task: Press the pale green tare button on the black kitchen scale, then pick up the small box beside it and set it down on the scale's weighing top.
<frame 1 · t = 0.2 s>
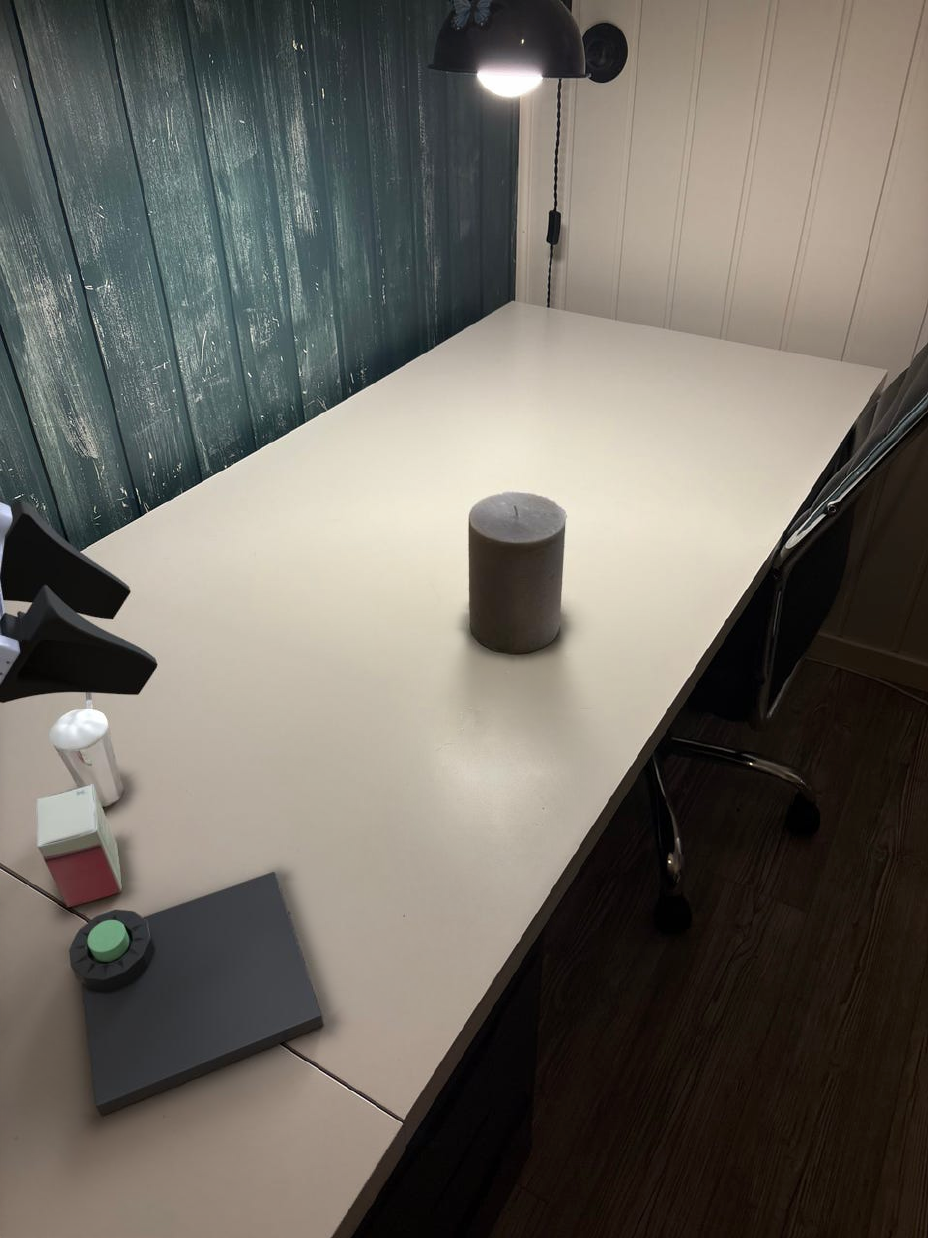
hand: (133, 637, 50), 30 cm above the table, tool tilted 45°, fingers open, 7 cm apart
milkshake: (106, 791, 81), on the table
pillar candle: (514, 625, 98), on the table
small box: (94, 878, 74), on the table
tare button: (108, 941, 66), point 3 cm above the table, slide at 0.1 cm
scale: (198, 986, 66), on the table
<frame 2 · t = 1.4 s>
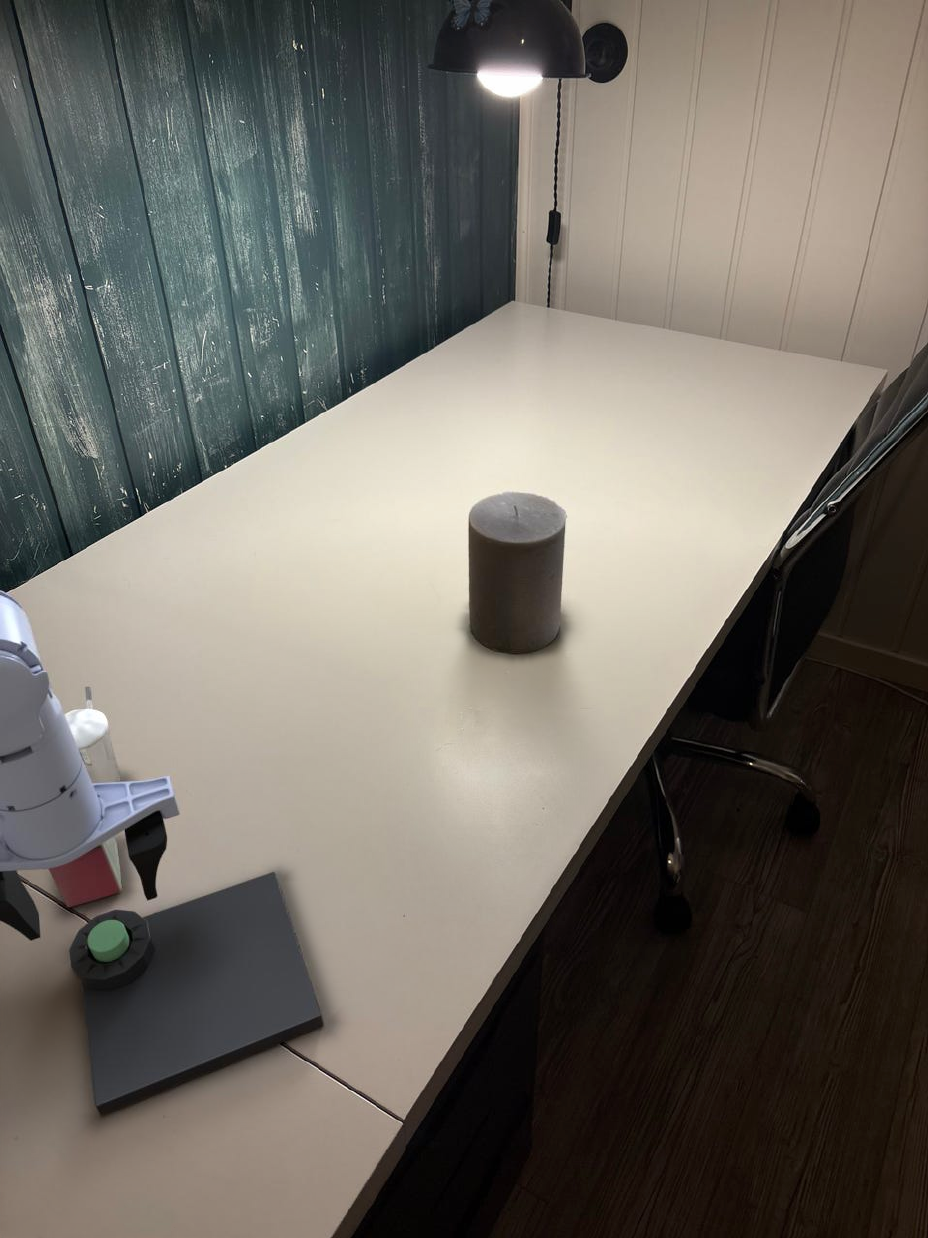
hand: (93, 907, 63), 7 cm above the table, tool pointing down, fingers open, 7 cm apart
nothing on the table moved.
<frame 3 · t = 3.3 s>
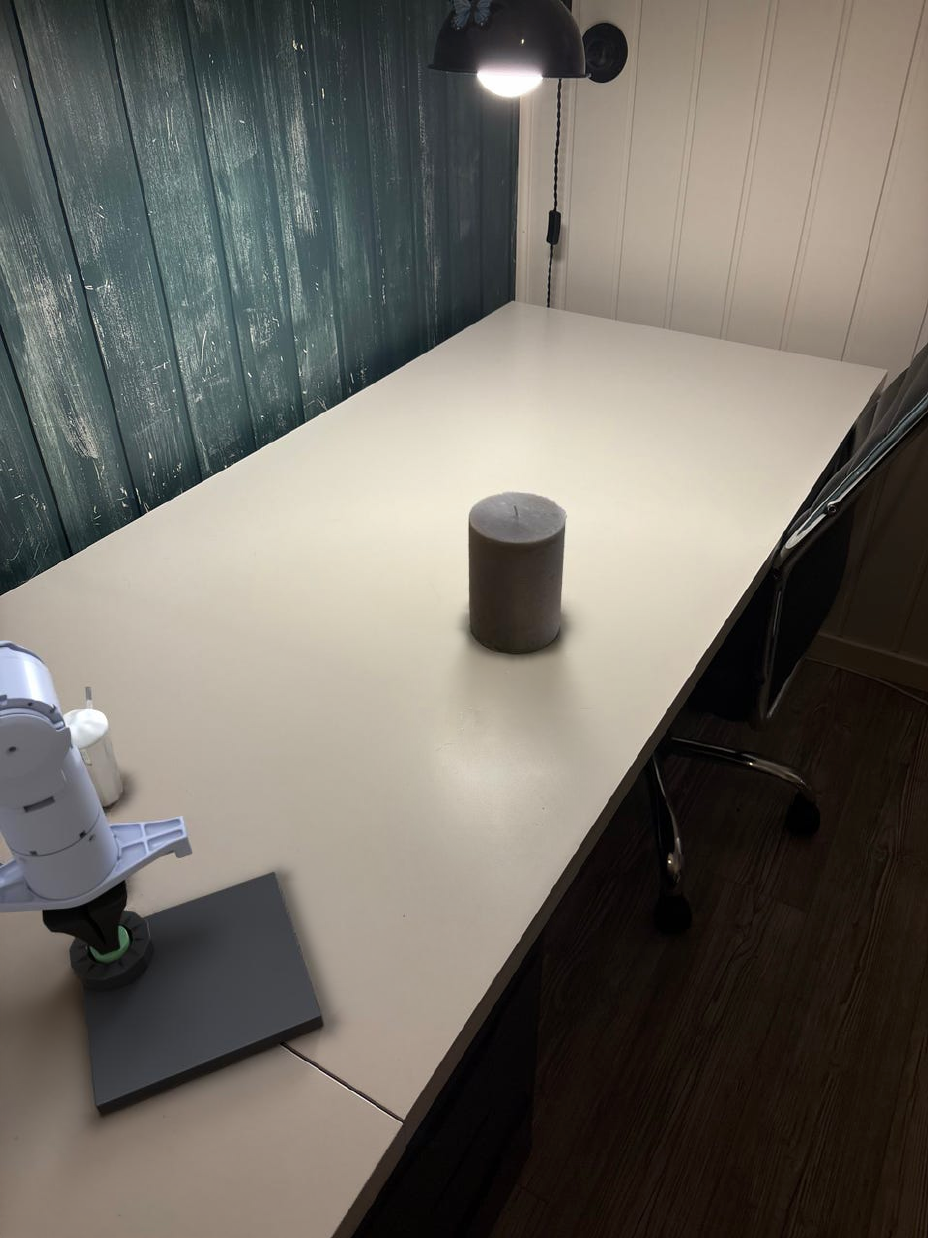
hand: (109, 941, 66), 3 cm above the table, tool pointing down, fingers closed, pressing on tare button
tare button: (111, 946, 66), point 3 cm above the table, slide at -0.5 cm, touching gripper
everything else where it was.
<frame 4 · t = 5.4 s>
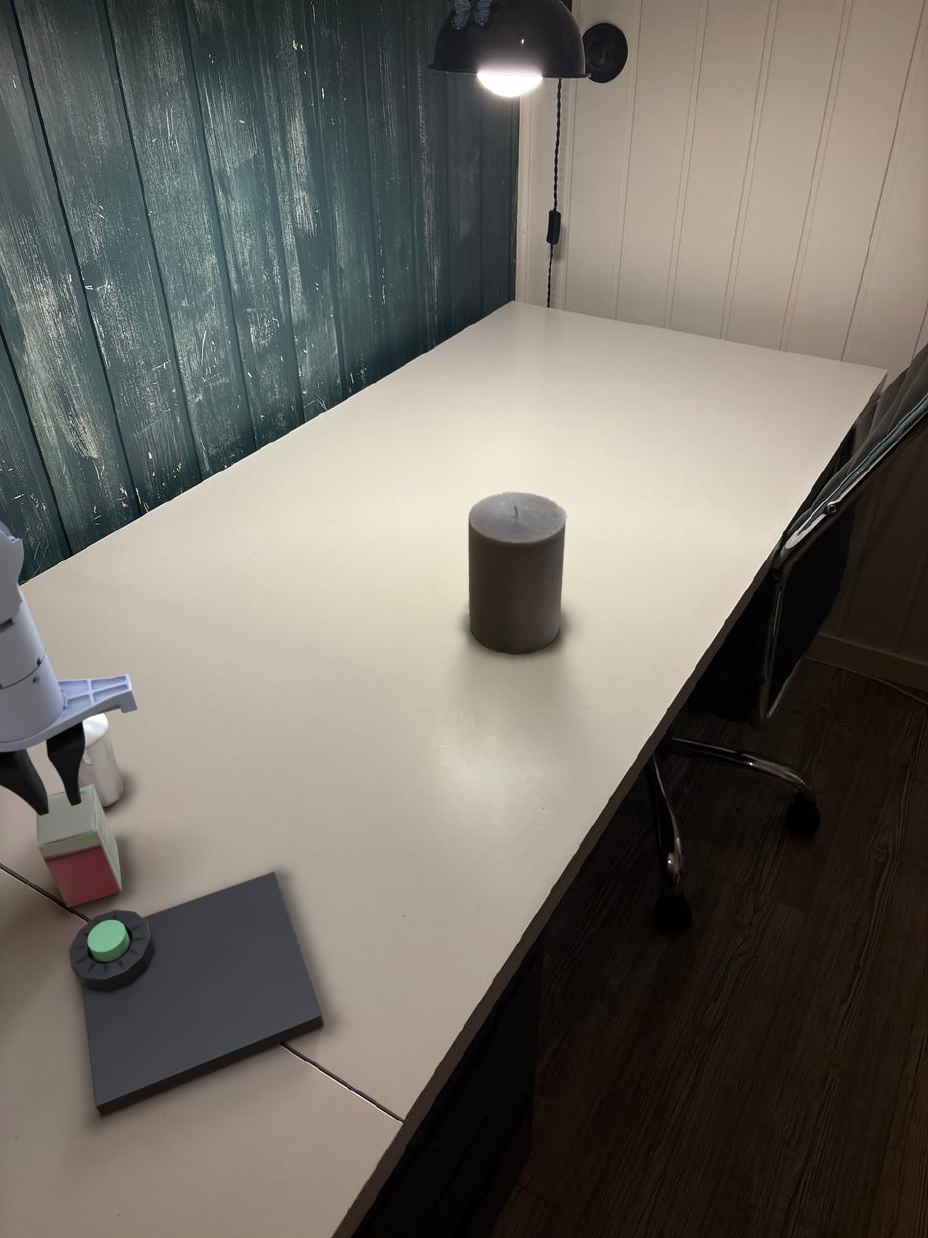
hand: (59, 800, 68), 9 cm above the table, tool pointing down, fingers closed
tare button: (108, 941, 66), point 3 cm above the table, slide at 0.1 cm
everything else where it was.
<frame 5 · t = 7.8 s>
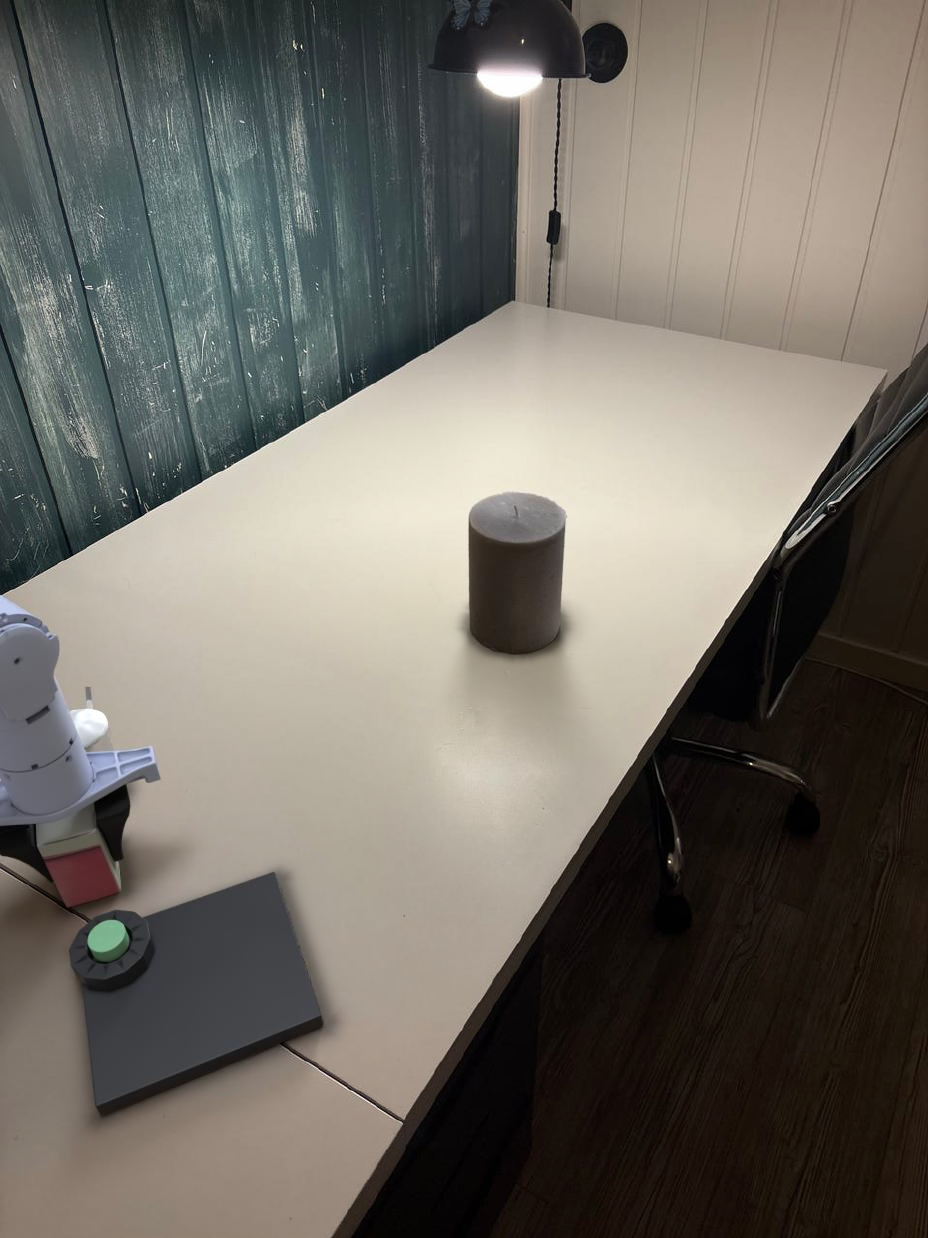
hand: (86, 861, 73), 2 cm above the table, tool pointing down, fingers closed on small box, 4 cm apart
small box: (93, 878, 74), on the table, touching gripper
everything else where it was.
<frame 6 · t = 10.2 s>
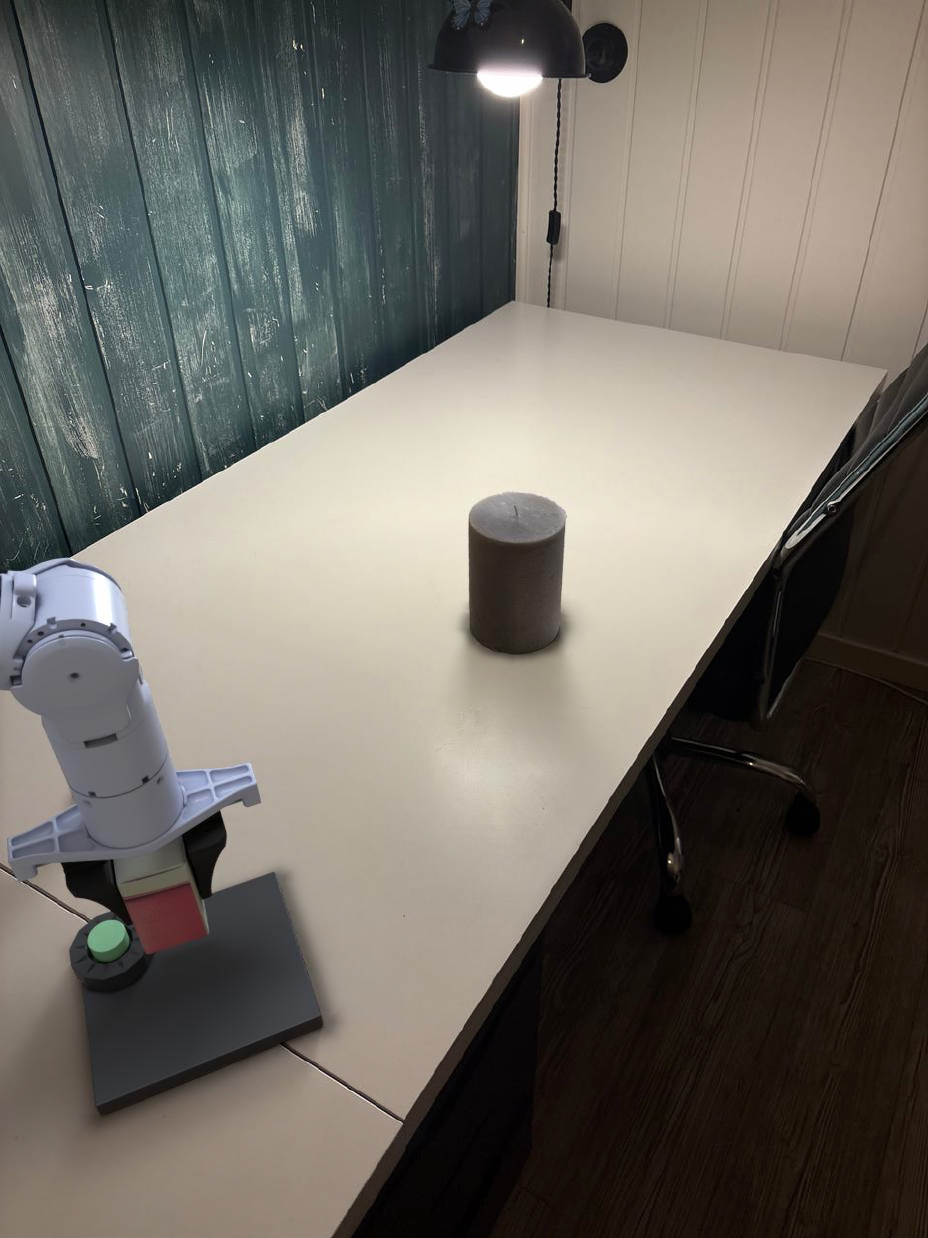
hand: (168, 899, 61), 9 cm above the table, tool pointing down, fingers closed on small box, 4 cm apart
small box: (174, 918, 63), point 7 cm above the table, touching gripper
everything else where it was.
when the fingers open (3 cm above the table, at t = 12.7 s): small box stays where it is, resting on scale.
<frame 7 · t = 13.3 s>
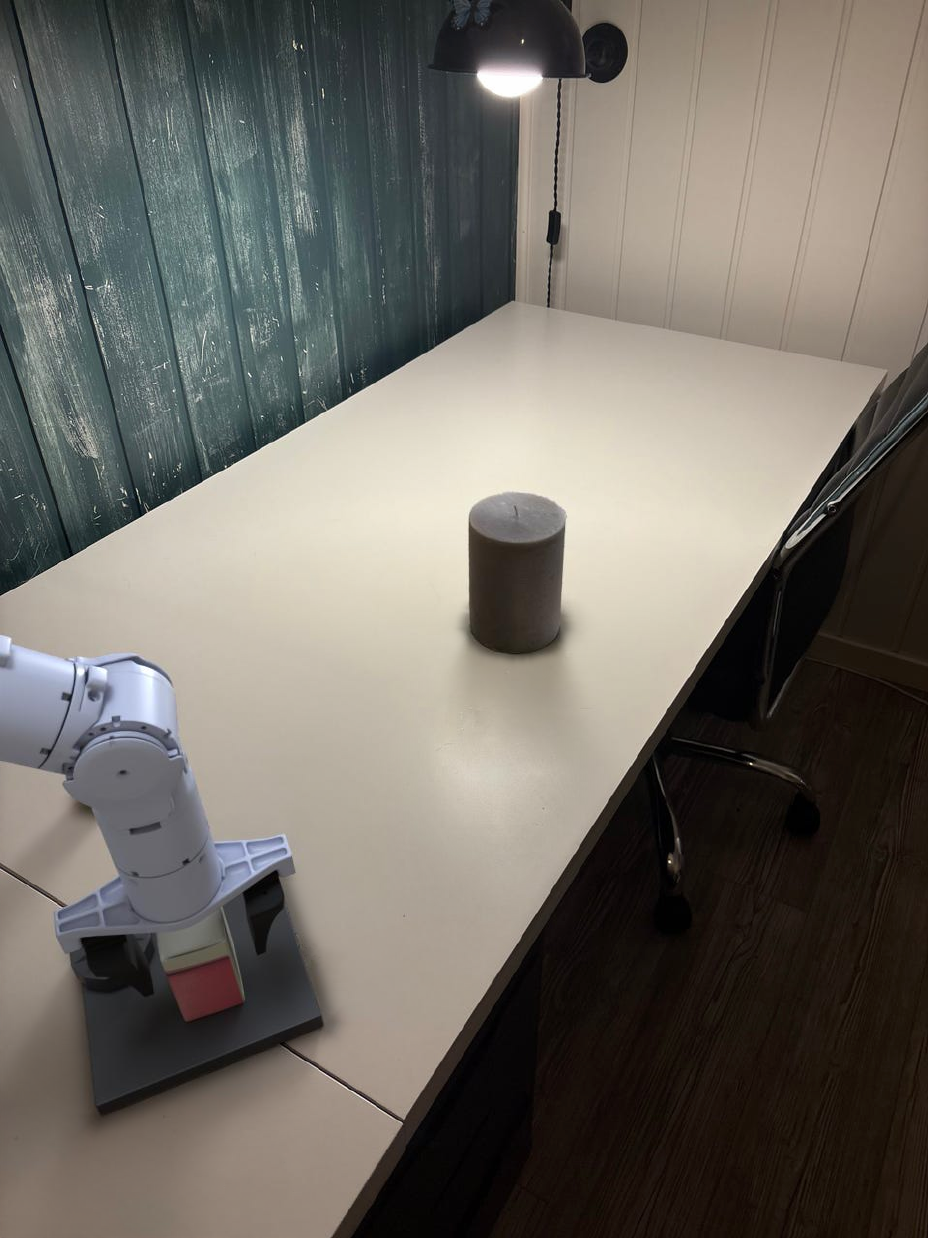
hand: (203, 962, 63), 4 cm above the table, tool pointing down, fingers open, 7 cm apart
small box: (211, 984, 65), point 1 cm above the table, touching scale
everything else where it was.
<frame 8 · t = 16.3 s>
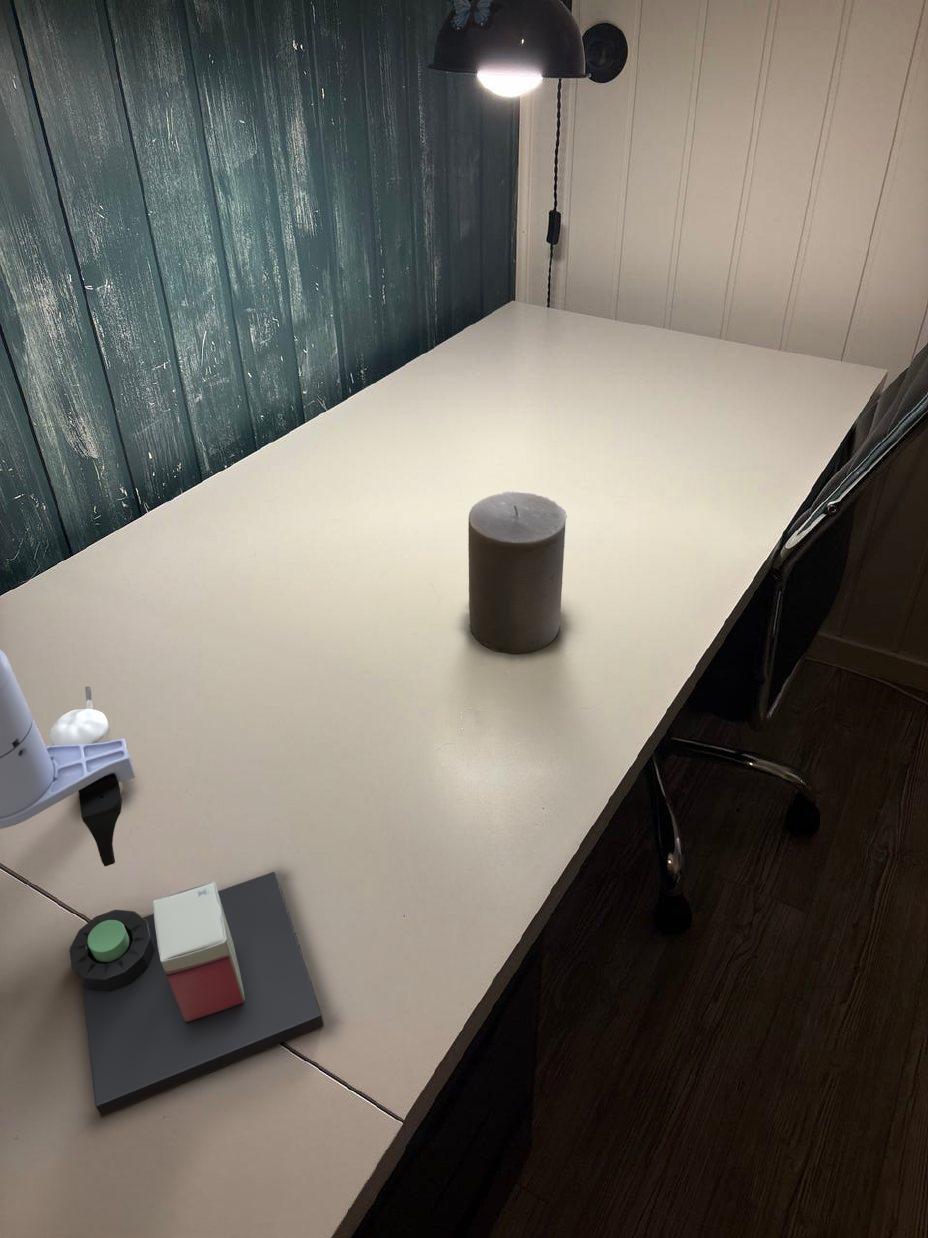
hand: (50, 873, 62), 10 cm above the table, tool pointing down, fingers open, 7 cm apart
nothing on the table moved.
at the end: tare button pushed in 1.0 cm at the most during the clip, back to where it started at the end; small box inside the target area on the scale (1.4 cm from its centre), point 1.2 cm above the scale's base; small box touching scale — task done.
